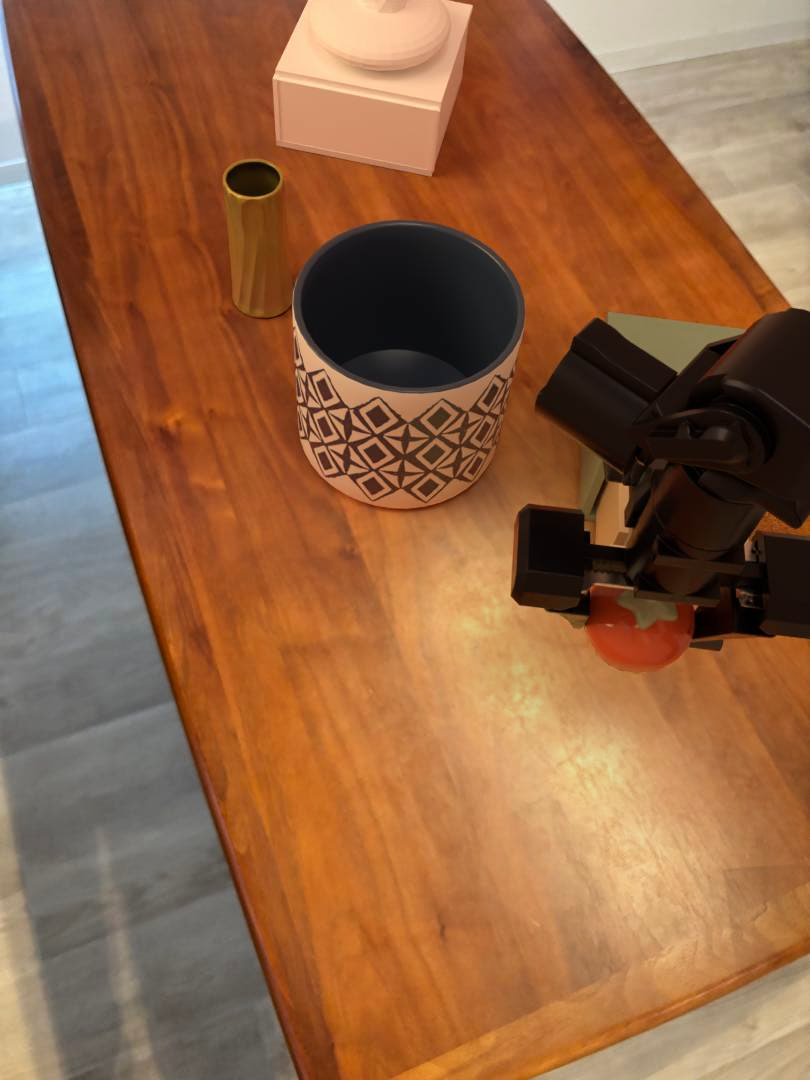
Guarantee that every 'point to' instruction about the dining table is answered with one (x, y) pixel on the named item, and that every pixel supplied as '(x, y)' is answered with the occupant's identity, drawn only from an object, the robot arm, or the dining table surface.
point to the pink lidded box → (372, 80)
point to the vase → (258, 238)
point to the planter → (404, 360)
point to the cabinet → (668, 345)
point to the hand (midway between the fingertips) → (632, 628)
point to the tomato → (637, 630)
